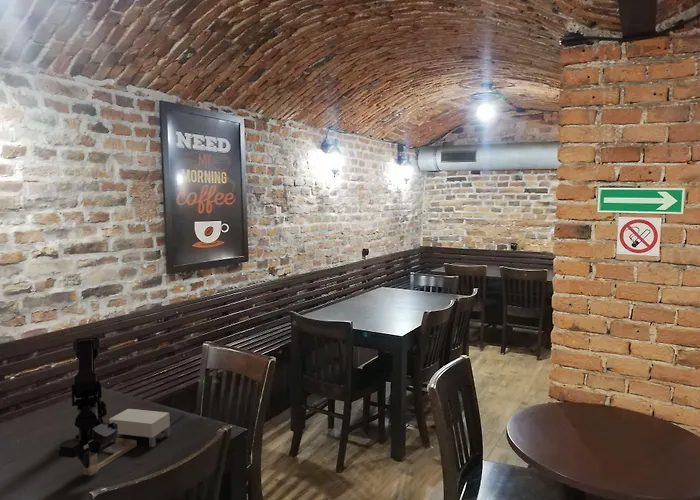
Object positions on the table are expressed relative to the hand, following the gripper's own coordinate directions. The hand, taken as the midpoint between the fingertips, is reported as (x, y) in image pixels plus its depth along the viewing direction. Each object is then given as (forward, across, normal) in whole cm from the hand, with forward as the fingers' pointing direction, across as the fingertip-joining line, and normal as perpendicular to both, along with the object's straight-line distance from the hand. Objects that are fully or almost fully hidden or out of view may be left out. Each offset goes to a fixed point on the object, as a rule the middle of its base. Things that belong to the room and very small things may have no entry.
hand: (90, 465), depth 161 cm
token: (+3, +16, +4) cm, 16 cm away
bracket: (+4, +38, +4) cm, 39 cm away
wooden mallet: (+3, +9, +3) cm, 10 cm away
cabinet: (+3, +25, +1) cm, 25 cm away
